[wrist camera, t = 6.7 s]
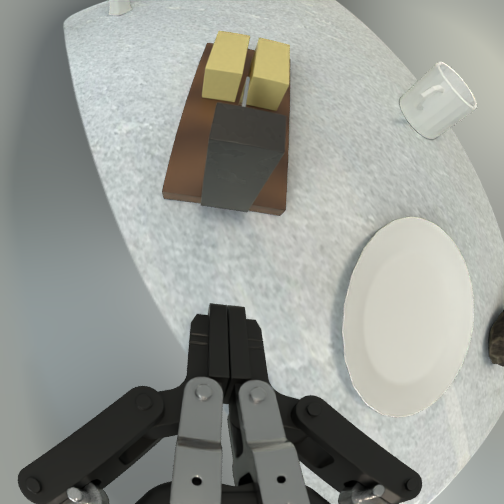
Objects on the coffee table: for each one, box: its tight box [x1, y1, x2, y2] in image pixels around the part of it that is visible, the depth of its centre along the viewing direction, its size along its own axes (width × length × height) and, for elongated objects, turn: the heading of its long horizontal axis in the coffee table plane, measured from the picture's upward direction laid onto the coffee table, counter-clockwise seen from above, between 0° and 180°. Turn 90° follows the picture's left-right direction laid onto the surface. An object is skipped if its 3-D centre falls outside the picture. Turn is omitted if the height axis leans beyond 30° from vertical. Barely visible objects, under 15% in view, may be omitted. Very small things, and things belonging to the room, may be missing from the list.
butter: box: [202, 31, 290, 111], centre depth 22 cm, size 7×7×4 cm
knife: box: [201, 77, 286, 212], centre depth 17 cm, size 10×4×9 cm, turn 175°
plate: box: [342, 217, 474, 418], centre depth 24 cm, size 21×21×2 cm
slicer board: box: [162, 43, 290, 216], centre depth 24 cm, size 20×10×2 cm, turn 175°
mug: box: [400, 62, 477, 139], centre depth 27 cm, size 8×12×10 cm, turn 118°
